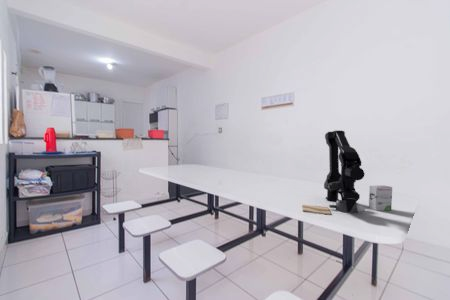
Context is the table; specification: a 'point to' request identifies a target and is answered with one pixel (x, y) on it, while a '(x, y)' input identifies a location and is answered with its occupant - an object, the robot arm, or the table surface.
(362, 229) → the table surface
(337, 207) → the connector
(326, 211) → the light brown wooden board
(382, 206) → the ink box
